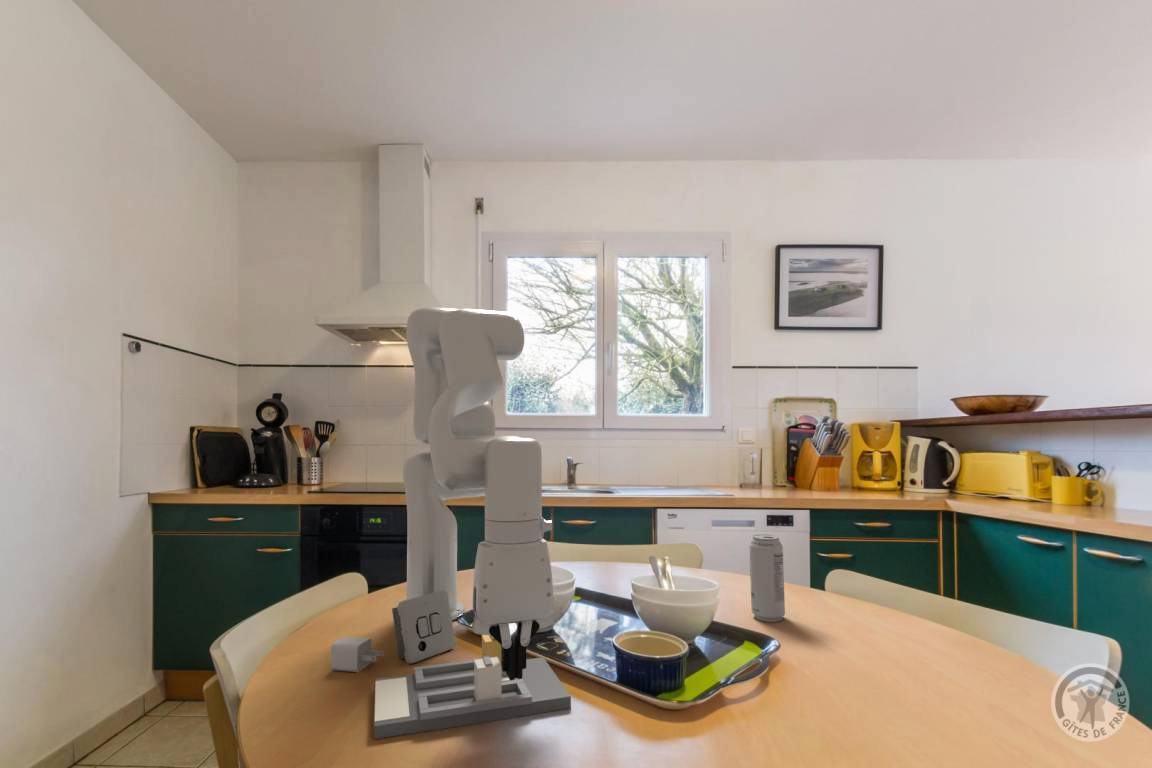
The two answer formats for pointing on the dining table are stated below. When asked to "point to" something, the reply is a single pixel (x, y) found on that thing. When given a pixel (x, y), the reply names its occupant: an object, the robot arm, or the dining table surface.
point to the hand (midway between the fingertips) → (513, 675)
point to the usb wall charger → (352, 654)
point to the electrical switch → (423, 626)
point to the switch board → (461, 698)
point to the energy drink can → (767, 578)
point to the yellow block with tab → (491, 647)
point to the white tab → (487, 678)
